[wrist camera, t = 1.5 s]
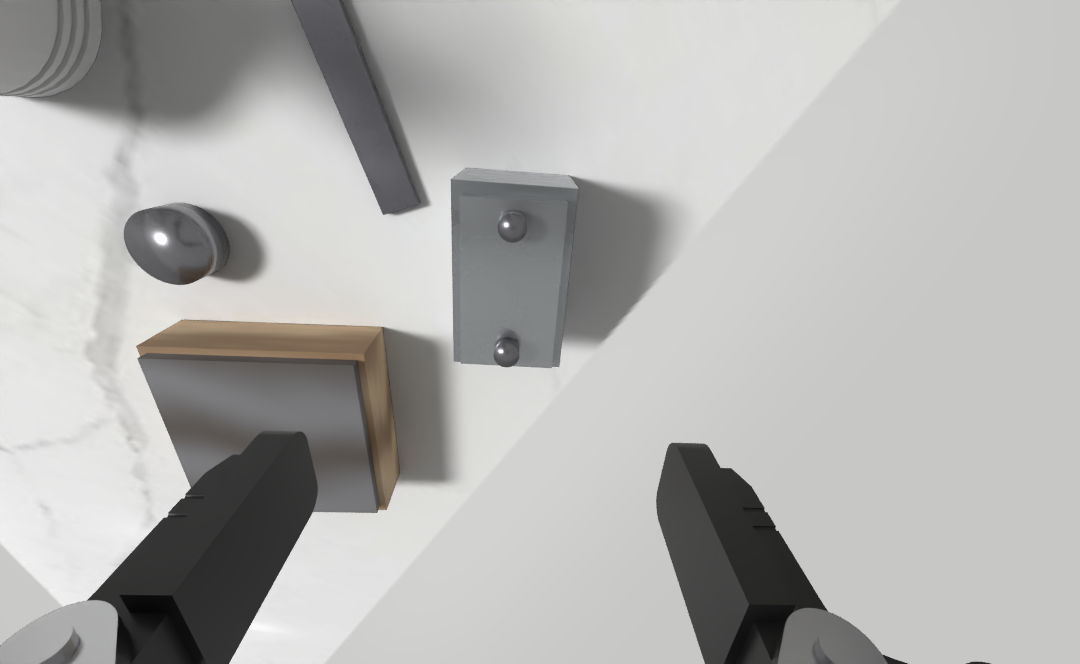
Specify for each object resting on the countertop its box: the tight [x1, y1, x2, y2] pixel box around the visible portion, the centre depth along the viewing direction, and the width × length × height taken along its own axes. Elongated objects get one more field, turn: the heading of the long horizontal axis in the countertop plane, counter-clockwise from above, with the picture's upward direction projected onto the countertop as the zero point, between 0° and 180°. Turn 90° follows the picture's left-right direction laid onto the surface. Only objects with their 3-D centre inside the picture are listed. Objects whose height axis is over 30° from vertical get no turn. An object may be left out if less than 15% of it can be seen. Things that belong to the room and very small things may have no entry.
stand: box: [136, 320, 400, 513], centre depth 27 cm, size 12×12×4 cm
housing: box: [451, 168, 579, 368], centre depth 22 cm, size 9×6×7 cm, turn 176°
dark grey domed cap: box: [124, 203, 230, 285], centre depth 23 cm, size 4×4×2 cm
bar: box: [291, 0, 420, 215], centre depth 21 cm, size 12×2×1 cm, turn 15°
